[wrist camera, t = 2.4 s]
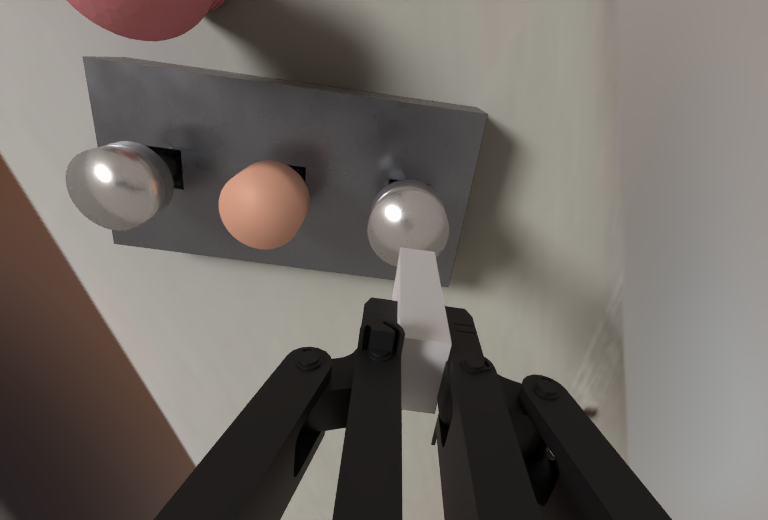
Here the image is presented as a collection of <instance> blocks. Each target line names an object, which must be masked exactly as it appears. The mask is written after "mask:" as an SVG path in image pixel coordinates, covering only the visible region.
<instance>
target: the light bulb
mask: <svg viewBox="0 0 768 520" xmlns="http://www.w3.org/2000/svg"><path fill="white" fill-rule="evenodd" d="M67 1H68V2H69V3H70V4H71V5H72V6H73V7H74V8H75V9H76V10H77V11H79V12H80V13H81V14H82V15H84V16H85V17H87V18H88V19H89V20H91V21H92V22H94V23H95V24H97V25H99V26H101V27H102V28H104V29H106V30H109V31H111V32H113V33H115V34H117V35H120V36H123V37H127V38H130V39H136V40H143V41H161V40H167V39H171V38H174V37H177V36H180V35H182V34H184V33H186V32H187V31H189V30H190V29H192V28H193V27H194V26H196V25H197V24H198V23H199V22H200V21H201V20H202V18H203V17H204V16H205V14H206V13H207V12H209V11H213V10H215V9H217V8H218V7H219V6H220V5H222V3H223V2H224V1H225V0H67Z"/></svg>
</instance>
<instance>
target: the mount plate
mask: <svg viewBox="0 0 768 520" xmlns="http://www.w3.org/2000/svg"><path fill="white" fill-rule="evenodd" d="M83 62H84V68H85V74H86V79H87V85H88V91H89V97H90V103H91V109H92V115H93V121H94V127H95V133H96V139H97V145H98V147H101V146H104V145H108V144H111V143H115V142H119V141H132V142H136V143H140V144H142V145H144V146H146V147H148V148H150V149H151V150H153V151H154V152H155V153H156V154H158V155H159V154H168V155H170V156H172V157H173V153H172V149H175V150H181V160H182V171H178V173H177V174H176V176H174V177H172V178H173V183H174V192H173V197H172V200H171V202H170V203H169V205H168V206H167V207H166V208H165V209H164V210H162V211H161V212H159V213H158V214H156V215H155V216H153V217H152V218H150V219H148V220H147V221H145V222H144V223H142V224H140V225H139V226H137V227H135V228H133V229H129V230H121V231H119V230H112V233H113V239H114V244H121V245H128V246H136V247H144V248H151V249H159V250H167V251H175V252H182V253H190V254H198V255H205V256H213V257H221V258H228V259H236V260H244V261H251V262H259V263H267V264H275V265H282V266H290V267H298V268H305V269H313V270H321V271H328V272H336V273H344V274H352V275H359V276H367V277H375V278H382V279H390V280H395V277H396V271H397V267H396V266H393V265H391V264H388V263H387V262H385V261H383V260H382V259H381V258H380V257H379V256H378V255H377V254H376V253H375V252H374V250H373V249H372V247H371V245H370V242H369V239H368V232H367V230H368V222H369V217H370V211H371V206H372V203H373V201H374V199H375V197H376V196H377V194H378V193H379V192H380V191H381V190H382V189H383V188H384V187H386V186H387V185H389V179H395V180H416V181H420V182H423V183H425V184H427V185H428V186H430V187H431V188H432V189H434V190H435V191H436V193H437V194H438V195H439V197H440V198H441V201H442V203H443V206H444V209H445V212H446V216H447V219H448V223H449V236H448V240H447V243H446V245H445V247H444V249H443V251H442V252H441V253H440V254H439V255H438V256H437V257H436V262H437V267H438V273H439V278H440V283H441V286H444V287H449V282H450V278H451V274H452V269H453V265H454V260H455V256H456V252H457V247H458V243H459V238H460V234H461V230H462V225H463V221H464V216H465V212H466V208H467V203H468V199H469V194H470V190H471V186H472V181H473V177H474V173H475V168H476V164H477V159H478V155H479V151H480V146H481V142H482V137H483V133H484V129H485V124H486V120H487V115H488V114H487V113H485V112H483V111H482V110H480V109H478V108H477V107H470V106H463V105H456V104H449V103H442V102H435V101H428V100H421V99H414V98H407V97H400V96H393V95H386V94H379V93H372V92H365V91H358V90H351V89H344V88H337V87H330V86H323V85H316V84H309V83H302V82H295V81H288V80H281V79H274V78H267V77H260V76H253V75H246V74H239V73H232V72H225V71H217V70H210V69H203V68H196V67H189V66H182V65H175V64H168V63H161V62H154V61H147V60H140V59H133V58H126V57H83ZM266 160H270V161H277V162H280V163H283V164H285V165H293V166H300V167H306V180H305V184H306V186H307V188H308V191H309V195H310V207H309V211H308V214H307V216H306V218H305V219H304V221H303V223H302V224H301V226H300V228H299V229H298V231H297V233H296V234H295V236H294V237H293V238H292V239H291V240H290V241H289V242H288V243H286V244H285V245H283V246H281V247H278V248H275V249H257V248H253V247H250V246H247V245H245V244H243V243H241V242H240V241H238V240H237V239H236V238H235V237H233V236H232V235H231V234H230V232H229V231H228V230H227V229H226V227H225V225H224V224H223V222H222V219H221V217H220V213H219V197H220V194H221V191H222V189H223V187H224V186H225V184H226V183H227V182H228V181H229V180H230V179H231V178H233V177H234V176H235V175H237V174H238V173H240V172H241V171H243V170H244V169H245V168H247V167H248V166H250V165H252V164H253V163H256V162H259V161H266Z"/></svg>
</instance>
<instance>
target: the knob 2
mask: <svg viewBox="0 0 768 520" xmlns="http://www.w3.org/2000/svg"><path fill="white" fill-rule="evenodd" d="M309 207H310V195H309V191H308V188H307V186H306V184H305V182H304V180H303V179H302V177H301V176H300V175H299V174H298V173H297V172H296V171H295V170H294V169H292V168H291V167H289V166H288V165H285V164H283V163H280V162H277V161H270V160H266V161H259V162H256V163H253V164H252V165H250V166H248V167H247V168H245V169H244V170H243V171H241V172H240V173H238V174H237V175H235V176H234V177H233V178H231V179H230V180H229V181H228V182H227V183H226V184H225V186H224V187H223V189H222V191H221V194H220V197H219V213H220V217H221V219H222V222H223V224H224V225H225V227H226V229H227V230H228V231H229V232H230V234H231V235H232V236H233V237H235V238H236V239H237V240H238V241H240V242H241V243H243V244H245V245H247V246H250V247H253V248H257V249H275V248H278V247H281V246H283V245H285V244H286V243H288V242H289V241H290V240H291V239H292V238H293V237H294V236H295V234H296V233H297V231H298V229H299V228H300V226H301V224H302V223H303V221H304V219H305V218H306V216H307V214H308V211H309Z"/></svg>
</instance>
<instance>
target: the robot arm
mask: <svg viewBox="0 0 768 520" xmlns="http://www.w3.org/2000/svg"><path fill="white" fill-rule="evenodd" d="M437 402H438V409H439V414H438V418H437V422H436V426H435V430H434V434H433V438H432V444H431V445H435V443H436V439H437V445H438V455H439V466H440V476H441V487H442V497H443V508H444V518H445V520H672V519H671V518H670V517H669V515H668V514H667V513H666V512H665V510H664V509H663V508H662V507H661V505H660V504H659V503H658V502H657V501H656V499H655V498H654V497H653V496H652V494H651V493H650V492H649V491H648V490H647V488H646V487H645V486H644V485H643V484H642V482H641V481H640V480H639V478H638V477H637V476H636V475H635V474H634V472H633V471H632V470H631V469H630V468H629V466H628V465H627V464H626V463H625V461H624V460H623V459H622V458H621V456H620V455H619V454H618V453H617V451H616V450H615V449H614V448H613V447H612V445H611V444H610V443H609V442H608V440H607V439H606V438H605V437H604V436H603V434H602V433H601V432H600V431H599V429H598V428H597V427H596V426H595V424H594V423H593V422H592V421H591V420H590V418H589V417H588V416H587V415H586V413H585V412H584V411H583V410H582V409H581V407H580V406H579V405H578V404H577V402H576V401H575V400H574V399H573V397H572V396H571V395H570V394H569V393H568V391H567V390H566V389H565V388H564V387H563V386H562V385H561V384H560V383H558V382H556V381H555V380H553V379H551V378H548V377H545V376H542V375H530V376H527V377H526V378H524V379H523V382H522V384H521V383H518V382H515V381H512V380H509V379H507V378H504V377H502V376H500V375H498V374H497V372H496V369H495V367H494V366H493V364H492V362H490V361H489V360H488V359H487V358H485V357H484V356H483V353H482V349H481V346H480V342H479V339H478V335H477V332H476V328H475V325H474V321H473V318H472V316H471V315H470V314H469V313H468V312H467V311H466V310H465V309H461V308H454V307H446V306H445V305H444V300H443V294H442V289H441V283H440V278H439V273H438V267H437V262H436V256H435V252H432V251H425V250H417V249H410V248H402V247H400V253H399V259H398V265H397V271H396V277H395V284H394V290H393V296H392V300H386V299H378V298H370V299H369V300H368V301H367V302H366V303H365V305H364V312H363V319H362V325H361V328H360V334H359V341H358V348H357V349H356V350H355V352H353V353H352V354H350V355H348V356H346V357H342V358H336V359H331V356H330V355H329V354H328V353H327V352H326V351H324V350H321V349H319V348H314V347H302V348H299V349H296V350H293V351H292V352H291V353H289V354H288V355H287V356H286V357H285V359H284V360H283V361H282V362H281V364H280V365H279V366H278V367H277V369H276V370H275V371H274V372H273V373H272V375H271V376H270V377H269V378H268V380H267V381H266V382H265V383H264V385H263V386H262V387H261V388H260V389H259V391H258V392H257V393H256V394H255V396H254V397H253V398H252V399H251V400H250V402H249V403H248V404H247V405H246V407H245V408H244V409H243V410H242V412H241V413H240V414H239V415H238V416H237V418H236V419H235V420H234V421H233V423H232V424H231V425H230V426H229V428H228V429H227V430H226V431H225V432H224V434H223V435H222V436H221V437H220V439H219V440H218V441H217V442H216V444H215V445H214V446H213V447H212V448H211V450H210V451H209V452H208V453H207V455H206V456H205V457H204V458H203V459H202V461H201V462H200V463H199V464H198V466H197V467H196V468H195V469H194V471H193V472H192V473H191V474H190V475H189V477H188V478H187V479H186V480H185V482H184V483H183V484H182V485H181V487H180V488H179V489H178V490H177V492H176V493H175V494H174V495H173V496H172V498H171V499H170V500H169V501H168V502H167V504H166V505H165V506H164V507H163V509H162V510H161V511H160V512H159V514H158V515H157V516H156V517H155V519H154V520H280V519H281V517H282V515H283V513H284V511H285V509H286V508H287V506H288V504H289V502H290V500H291V498H292V496H293V494H294V492H295V490H296V488H297V487H298V485H299V483H300V481H301V479H302V477H303V475H304V473H305V471H306V469H307V467H308V466H309V464H310V462H311V460H312V458H313V456H314V454H315V452H316V450H317V448H318V446H319V445H320V443H321V441H322V439H323V437H324V434H325V431H327V430H333V429H339V428H346V431H345V438H344V445H343V452H342V458H341V465H340V472H339V479H338V486H337V492H336V499H335V506H334V513H333V520H402V415H401V410H409V411H417V412H425V413H433V414H435V410H436V406H437ZM549 449H550V450H549ZM550 451H551V452H552V453H551V452H550ZM552 454H553V455H554V456H553V455H552Z"/></svg>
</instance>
